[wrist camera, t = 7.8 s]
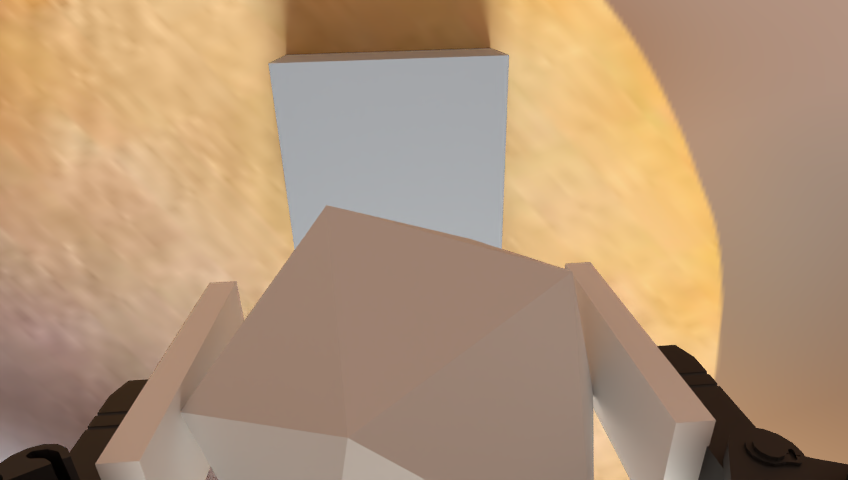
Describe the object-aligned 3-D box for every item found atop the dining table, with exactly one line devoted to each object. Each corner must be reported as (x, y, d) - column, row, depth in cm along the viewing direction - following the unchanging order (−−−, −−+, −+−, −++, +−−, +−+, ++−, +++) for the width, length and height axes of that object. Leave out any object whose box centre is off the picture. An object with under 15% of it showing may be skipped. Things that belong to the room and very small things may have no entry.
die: (277, 127, 14) (-19, 520, 9) (632, 111, 10) (510, 826, 5) (388, 303, 20) (256, 602, 15) (639, 336, 16) (589, 765, 11)
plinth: (309, 242, 35) (298, 277, 31) (286, 54, 30) (268, 63, 26) (486, 233, 36) (500, 266, 31) (490, 48, 31) (508, 55, 26)
